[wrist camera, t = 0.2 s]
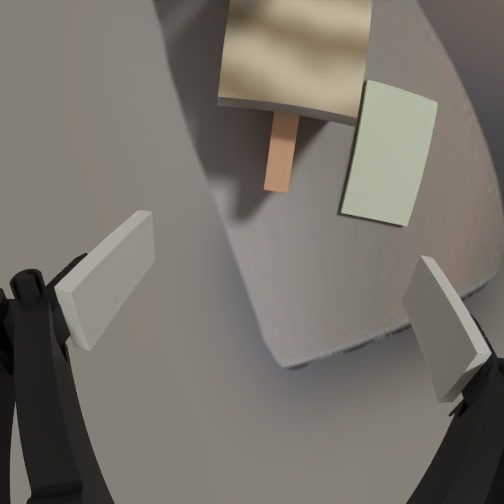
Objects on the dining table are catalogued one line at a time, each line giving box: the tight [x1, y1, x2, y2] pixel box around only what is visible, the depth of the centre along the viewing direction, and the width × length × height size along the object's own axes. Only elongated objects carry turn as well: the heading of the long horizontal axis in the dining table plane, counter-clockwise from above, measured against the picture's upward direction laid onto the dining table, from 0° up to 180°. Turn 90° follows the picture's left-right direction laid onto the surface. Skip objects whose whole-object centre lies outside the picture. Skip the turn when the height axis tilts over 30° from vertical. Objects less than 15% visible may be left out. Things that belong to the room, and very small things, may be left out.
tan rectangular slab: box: [264, 112, 300, 193], centre depth 30 cm, size 16×2×9 cm, turn 174°
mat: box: [341, 80, 438, 226], centre depth 34 cm, size 18×10×1 cm, turn 174°
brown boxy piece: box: [217, 0, 372, 127], centre depth 25 cm, size 15×12×12 cm
